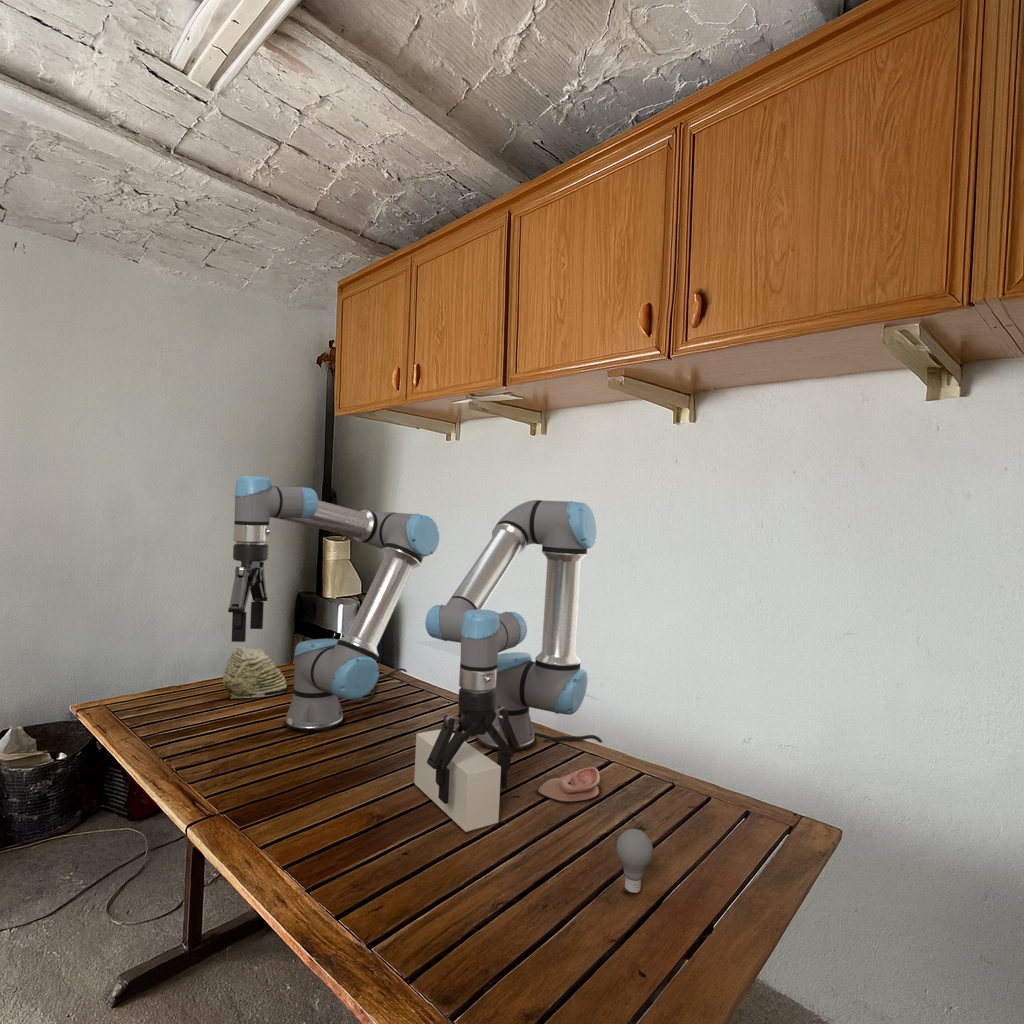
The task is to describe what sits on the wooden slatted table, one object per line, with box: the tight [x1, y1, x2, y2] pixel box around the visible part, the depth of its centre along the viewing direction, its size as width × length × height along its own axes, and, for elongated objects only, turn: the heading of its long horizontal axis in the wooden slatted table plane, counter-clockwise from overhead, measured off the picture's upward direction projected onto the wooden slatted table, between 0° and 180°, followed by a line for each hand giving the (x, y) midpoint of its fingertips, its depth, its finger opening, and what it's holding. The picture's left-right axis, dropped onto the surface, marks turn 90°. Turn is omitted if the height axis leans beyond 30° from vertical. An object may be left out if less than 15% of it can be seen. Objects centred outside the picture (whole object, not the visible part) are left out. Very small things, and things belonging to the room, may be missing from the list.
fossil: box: [222, 646, 288, 699], centre depth 198 cm, size 9×18×15 cm, turn 132°
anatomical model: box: [537, 766, 601, 802], centre depth 141 cm, size 13×4×12 cm
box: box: [413, 728, 501, 833], centre depth 134 cm, size 24×8×11 cm, turn 33°
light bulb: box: [615, 828, 654, 894], centre depth 106 cm, size 6×6×10 cm
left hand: (247, 635), depth 146 cm, fingers open, 13 cm apart
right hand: (473, 793), depth 127 cm, fingers open, 13 cm apart
